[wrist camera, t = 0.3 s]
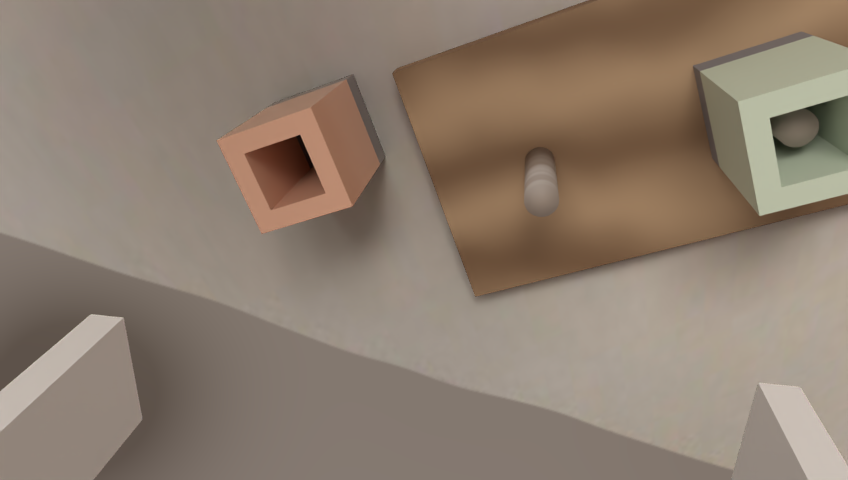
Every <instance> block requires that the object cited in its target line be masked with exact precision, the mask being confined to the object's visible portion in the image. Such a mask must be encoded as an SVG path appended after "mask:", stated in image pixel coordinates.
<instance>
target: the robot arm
mask: <svg viewBox="0 0 848 480" xmlns="http://www.w3.org/2000/svg"><path fill="white" fill-rule="evenodd" d="M141 420H142V414H141V409H140V403H139V398H138V393H137V387H136V382H135V377H134V371H133V365H132V360H131V355H130V350H129V344H128V339H127V333H126V328H125V323H124V318H123V317H113V316H103V315H94V314H91V315H89V316H88V317H87V318H86V319H85V320H83V321H82V322H81V323H80V324H79V325H78V326H76V327H75V328H74V329H73V330H72V331H71V332H69V333H68V334H67V335H66V336H65V337H64V338H62V339H61V340H60V341H59V342H58V343H57V344H55V345H54V346H53V347H52V348H51V349H49V350H48V351H47V352H46V353H45V354H44V355H42V356H41V357H40V358H39V359H38V360H37V361H35V362H34V363H33V364H32V365H31V366H29V367H28V368H27V369H26V370H25V371H24V372H22V373H21V374H20V375H19V376H18V377H17V378H15V379H14V380H13V381H12V382H11V383H9V384H8V385H7V386H6V387H5V388H4V389H2V390H1V391H0V480H93V479H94V478H95V477H96V476H97V475H98V473H99V472H100V471H101V470H102V469H103V467H104V466H105V465H106V463H107V462H108V461H109V460H110V459H111V457H112V456H113V455H114V454H115V453H116V451H117V450H118V449H119V447H120V446H121V445H122V444H123V443H124V441H125V440H126V439H127V438H128V436H129V435H130V434H131V433H132V431H133V430H134V429H135V428H136V427H137V425H138V424H139V423H140V422H141ZM731 480H848V466H847V464H846V462H845V461H844V459H843V457H842V456H841V454H840V452H839V451H838V449H837V447H836V446H835V444H834V442H833V441H832V439H831V437H830V436H829V434H828V432H827V431H826V429H825V427H824V426H823V424H822V422H821V421H820V419H819V417H818V416H817V414H816V412H815V411H814V409H813V408H812V406H811V404H810V403H809V401H808V399H807V398H806V396H805V394H804V393H803V391H802V389H801V388H800V387H797V386H787V385H777V384H768V383H758V385H757V388H756V392H755V396H754V399H753V403H752V406H751V410H750V414H749V417H748V421H747V424H746V428H745V431H744V435H743V439H742V442H741V446H740V449H739V453H738V456H737V460H736V464H735V467H734V471H733V475H732V478H731Z"/></svg>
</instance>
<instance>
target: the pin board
mask: <svg viewBox="0 0 848 480" xmlns="http://www.w3.org/2000/svg"><path fill="white" fill-rule="evenodd" d="M801 31H802V32H805V33H808V34H810V35H813V36H816V37H819V38H822V39H825V40H827V41H830V42H833V43H836V44H839V45H842V46H844V47H847V48H848V0H588V1H585V2H583V3H580V4H577V5H574V6H571V7H569V8H566V9H563V10H560V11H557V12H554V13H552V14H549V15H546V16H543V17H540V18H538V19H535V20H532V21H529V22H526V23H523V24H521V25H518V26H515V27H512V28H509V29H507V30H504V31H501V32H498V33H495V34H492V35H490V36H487V37H484V38H481V39H478V40H476V41H473V42H470V43H467V44H464V45H461V46H459V47H456V48H453V49H450V50H447V51H445V52H442V53H439V54H436V55H433V56H431V57H428V58H425V59H422V60H419V61H416V62H414V63H411V64H408V65H405V66H402V67H400V68H397V69H396V70H395V71H394V72H393V73H392V74H393V76H394V79H395V82H396V85H397V87H398V90H399V93H400V95H401V98H402V101H403V103H404V106H405V109H406V111H407V114H408V117H409V119H410V122H411V125H412V128H413V130H414V133H415V136H416V138H417V141H418V144H419V146H420V149H421V152H422V154H423V157H424V160H425V163H426V165H427V168H428V171H429V173H430V176H431V179H432V181H433V184H434V187H435V189H436V192H437V195H438V197H439V200H440V203H441V206H442V208H443V211H444V214H445V216H446V219H447V222H448V224H449V227H450V230H451V232H452V235H453V238H454V240H455V243H456V246H457V249H458V251H459V254H460V257H461V259H462V262H463V265H464V267H465V270H466V273H467V275H468V278H469V281H470V284H471V286H472V289H473V292H474V294H475V297H476V296H480V295H484V294H488V293H492V292H496V291H501V290H505V289H509V288H513V287H517V286H521V285H525V284H529V283H533V282H537V281H541V280H545V279H549V278H553V277H557V276H561V275H565V274H569V273H573V272H577V271H581V270H585V269H589V268H593V267H597V266H601V265H605V264H609V263H613V262H617V261H621V260H625V259H629V258H633V257H637V256H641V255H645V254H649V253H653V252H657V251H662V250H666V249H670V248H674V247H678V246H682V245H686V244H690V243H694V242H698V241H702V240H706V239H710V238H714V237H718V236H722V235H726V234H730V233H734V232H738V231H742V230H746V229H750V228H754V227H758V226H762V225H766V224H770V223H774V222H778V221H782V220H786V219H790V218H794V217H798V216H802V215H806V214H810V213H814V212H818V211H822V210H827V209H831V208H835V207H839V206H843V205H847V204H848V194H845V195H841V196H837V197H833V198H829V199H825V200H821V201H817V202H813V203H809V204H805V205H801V206H797V207H793V208H789V209H785V210H781V211H777V212H773V213H769V214H765V215H762V216H759V215H758V213H757V212H756V211H755V210H754V209H753V207H752V206H751V205H750V204H749V202H748V201H747V200H746V199H745V198H744V196H743V195H742V194H741V193H740V191H739V190H738V189H737V188H736V187H735V185H734V184H733V183H732V182H731V180H730V179H729V178H728V177H727V176H726V174H725V173H724V172H723V171H722V169H721V168H720V167H719V166H718V165H717V163H716V162H715V161H714V160H713V158H712V155H711V150H710V145H709V140H708V136H707V131H706V126H705V121H704V117H703V112H702V107H701V102H700V98H699V93H698V88H697V83H696V79H695V74H694V69H693V65H697V64H700V63H703V62H706V61H709V60H712V59H716V58H719V57H722V56H725V55H728V54H731V53H735V52H738V51H741V50H744V49H747V48H750V47H754V46H757V45H760V44H763V43H766V42H769V41H773V40H776V39H779V38H782V37H785V36H788V35H792V34H795V33H798V32H801ZM770 124H771V129H772V135H773V136H774V137H776V138H777V139H778V140H779V141H781V142H782V143H783V144H784V145H786V146H789V147H801V146H804V145H806V144H808V143H809V142H811V141H812V140H813V139H814V138H815V136H816V135H817V133H818V130H819V121H818V118H817V117H816V116H815V115H814V114H813V113H812V112H810V111H809V110H807V109H805V108H802V109H799V110H795V111H792V112H789V113H785V114H782V115H778V116H775V117H771V118H770Z"/></svg>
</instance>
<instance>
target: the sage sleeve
mask: <svg viewBox="0 0 848 480" xmlns="http://www.w3.org/2000/svg"><path fill="white" fill-rule="evenodd" d="M693 69H694V74H695V79H696V83H697V88H698V93H699V98H700V102H701V107H702V112H703V117H704V121H705V126H706V131H707V136H708V140H709V145H710V150H711V155H712V158H713V160H714V161H715V162H716V163H717V165H718V166H719V167H720V168H721V169H722V171H723V172H724V173H725V174H726V176H727V177H728V178H729V179H730V180H731V182H732V183H733V184H734V185H735V187H736V188H737V189H738V190H739V191H740V193H741V194H742V195H743V196H744V198H745V199H746V200H747V201H748V202H749V204H750V205H751V206H752V207H753V209H754V210H755V211H756V212H757V213H758V215H759V216H762V215H765V214H769V213H773V212H777V211H781V210H785V209H789V208H793V207H797V206H801V205H805V204H809V203H813V202H817V201H821V200H825V199H829V198H833V197H837V196H841V195H845V194H848V48H847V47H844V46H842V45H839V44H836V43H833V42H830V41H827V40H825V39H822V38H819V37H816V36H813V35H810V34H808V33H805V32H802V31H801V32H798V33H795V34H792V35H788V36H785V37H782V38H779V39H776V40H773V41H769V42H766V43H763V44H760V45H757V46H754V47H750V48H747V49H744V50H741V51H738V52H735V53H731V54H728V55H725V56H722V57H719V58H716V59H712V60H709V61H706V62H703V63H700V64H697V65H693ZM802 108H805V109H807V110H809V111H810V112H812V113H813V114H814V115H815V116H816V117H817V118H818V121H819V130H818V133H817V135H816V136H815V138H814V139H813V140H812V141H811V142H809V143H808V144H806V145H804V146H801V147H789V146H786V145H784V144H783V143H782V142H781V141H779V140H778V139H777V138H776V137H774V136H773V135H772V129H771V124H770V118H771V117H775V116H778V115H782V114H785V113H789V112H792V111H795V110H799V109H802Z"/></svg>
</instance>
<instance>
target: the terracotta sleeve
mask: <svg viewBox="0 0 848 480" xmlns="http://www.w3.org/2000/svg"><path fill="white" fill-rule="evenodd" d="M217 142H218V144H219V146H220V149H221V151H222V153H223V155H224V157H225V159H226V161H227V163H228V165H229V167H230V169H231V171H232V173H233V175H234V178H235V180H236V182H237V184H238V186H239V188H240V190H241V192H242V194H243V196H244V198H245V200H246V202H247V204H248V207H249V209H250V211H251V213H252V215H253V217H254V219H255V221H256V223H257V225H258V227H259V229H260V231H261V233H262V234H263V233H266V232H270V231H273V230H276V229H280V228H283V227H286V226H290V225H293V224H296V223H299V222H303V221H306V220H309V219H313V218H316V217H319V216H323V215H326V214H329V213H333V212H336V211H339V210H343V209H346V208H349V207H353V205H354V204H355V202H356V201H357V199H358V198H359V196H360V195H361V193H362V191H363V190H364V188H365V187H366V185H367V184H368V182H369V181H370V179H371V178H372V176H373V175H374V173H375V172H376V170H377V169H378V167H379V165H380V164H381V162H382V161H383V159H384V158H385V154H384V152H383V149H382V147H381V144H380V142H379V139H378V136H377V134H376V131H375V129H374V126H373V124H372V121H371V119H370V116H369V114H368V111H367V108H366V106H365V103H364V101H363V98H362V96H361V93H360V91H359V88H358V86H357V83H356V81H355V78H354V75H353V74H352V75H349V76H347V77H344V78H341V79H338V80H336V81H333V82H330V83H327V84H324V85H322V86H319V87H316V88H313V89H311V90H308V91H305V92H302V93H299V94H297V95H294V96H291V97H288V98H285V99H283V100H280V101H277V102H275V103H273V104H272V105H270V106H268V107H267V108H265V109H264V110H262V111H261V112H259V113H258V114H256V115H255V116H253V117H252V118H250V119H249V120H247V121H246V122H244V123H242V124H241V125H239V126H238V127H236V128H235V129H233V130H232V131H230V132H229V133H227V134H226V135H224V136H223V137H221V138H219V139H218V140H217Z"/></svg>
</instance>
